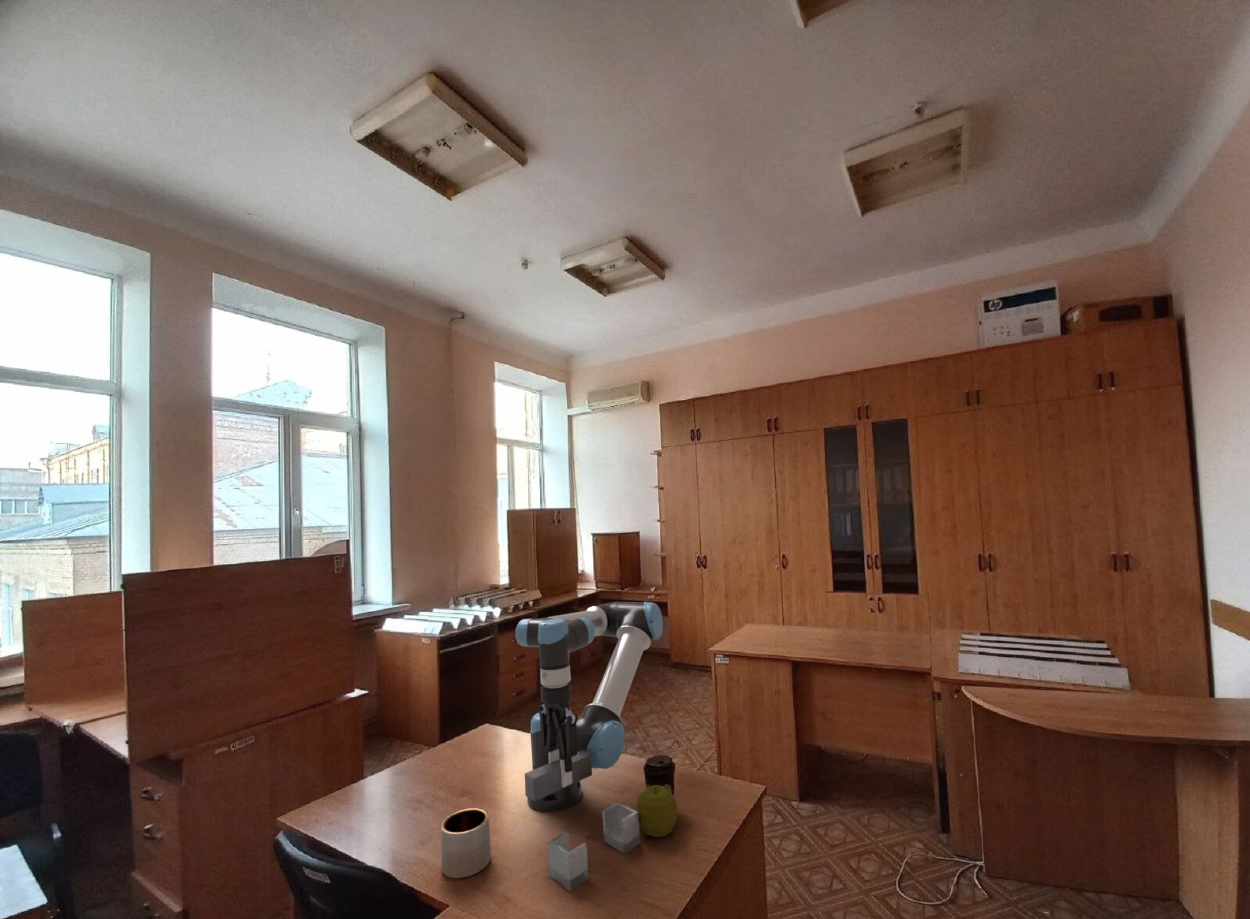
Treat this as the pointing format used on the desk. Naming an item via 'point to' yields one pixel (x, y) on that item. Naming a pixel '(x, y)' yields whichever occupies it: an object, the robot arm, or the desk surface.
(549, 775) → the rail
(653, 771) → the coffee cup
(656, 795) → the apple
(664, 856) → the desk surface
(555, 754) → the robot arm
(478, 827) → the planter
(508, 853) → the desk surface
